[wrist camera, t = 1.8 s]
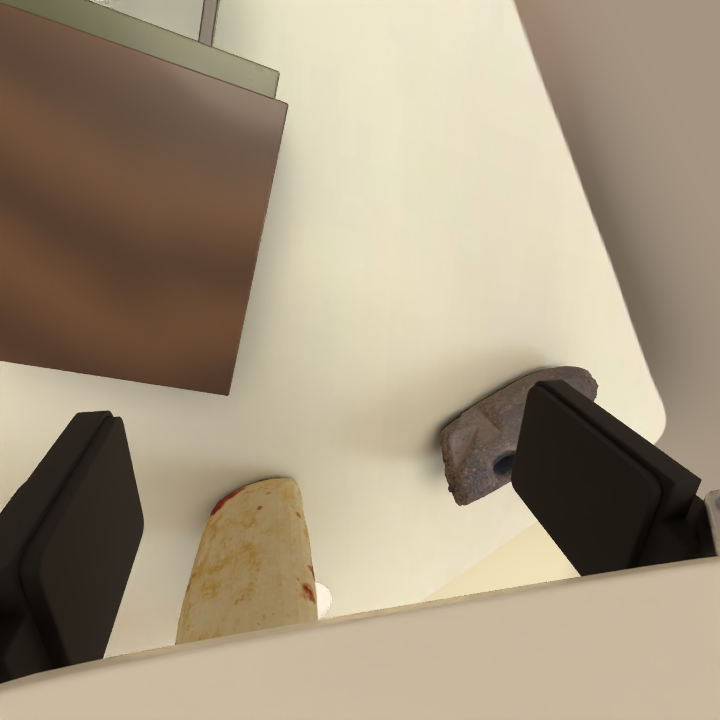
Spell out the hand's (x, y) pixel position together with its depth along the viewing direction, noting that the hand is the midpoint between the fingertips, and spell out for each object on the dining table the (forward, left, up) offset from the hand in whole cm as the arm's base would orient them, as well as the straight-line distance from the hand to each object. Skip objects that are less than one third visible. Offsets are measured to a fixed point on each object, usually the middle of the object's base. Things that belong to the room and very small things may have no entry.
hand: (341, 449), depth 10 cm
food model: (+2, -21, -23) cm, 31 cm away
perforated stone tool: (+21, -8, -23) cm, 32 cm away
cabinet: (-9, +1, -23) cm, 25 cm away
